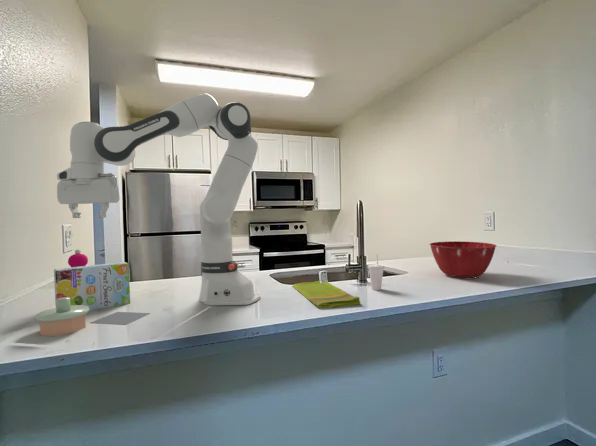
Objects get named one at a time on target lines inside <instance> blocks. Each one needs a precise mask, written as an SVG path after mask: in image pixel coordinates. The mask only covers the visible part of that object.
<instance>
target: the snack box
mask: <svg viewBox="0 0 596 446" xmlns="http://www.w3.org/2000/svg"><path fill="white" fill-rule="evenodd" d="M129 266H130V265H129V262H126V261H123V262H121V261H119V262H112V263H101V264H89V265H86V266H80V267H71V266H70V267H63V268H62V267H61V268H54V269H53V278H54V279H53V280H54V300H55V306H56V299H58V298H63V297H70V306H72V305H85V306H88V307H89V311H93V310H98V309H105V308H111V307H115V306H116V307H117V306H123V305H129V304H131V291H130V290H131V287H130V267H129Z"/></svg>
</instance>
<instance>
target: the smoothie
mask: <svg viewBox="0 0 596 446" xmlns="http://www.w3.org/2000/svg"><path fill="white" fill-rule="evenodd" d="M367 268H368V271H369V272H368V274H369V277H370V279H369V280H370V287H371V290H373V291H381V290H382V284H383V276H384V269H385V265H384V264H379V254H376V263H375V264H369V265H367Z"/></svg>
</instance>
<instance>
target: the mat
mask: <svg viewBox="0 0 596 446" xmlns="http://www.w3.org/2000/svg"><path fill="white" fill-rule="evenodd" d="M150 314H151V313H149V312H135V311H134V312H130V311H129V312H128V311H116V312H114V313H111V314H109V315H106V316H103V317H101V318H97V319H95V320H93V321H91V322H89V324H101V325H102V324H103V325H117V326H118V325H119V326H127V325H129V324H131V323H133V322H136V321H138V320H140V319H142V318H144V317H146V316H149V315H150Z"/></svg>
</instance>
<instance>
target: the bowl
mask: <svg viewBox="0 0 596 446" xmlns="http://www.w3.org/2000/svg"><path fill="white" fill-rule="evenodd" d="M86 327H87V325H86V314H85V315H82V316H80V317H76V318H72V319H67V320H61V321H53V322H40V321H39V330H40V331H39V334H40V336H44V337H45V336H47V337H50V336H51V337H56V336H62V335H66V334H72V333H75V332H77V331H81V330H83V329H85V328H86Z"/></svg>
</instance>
